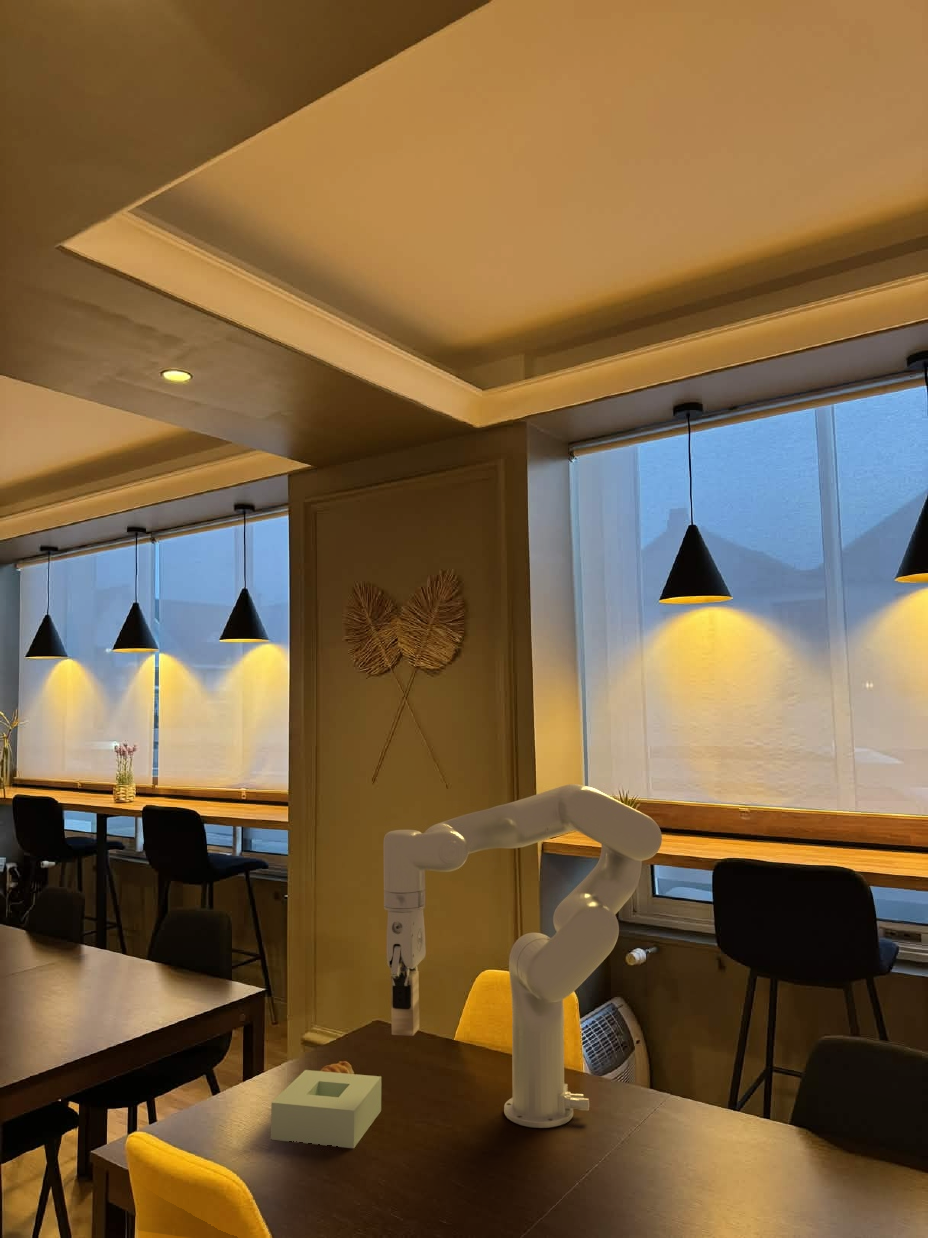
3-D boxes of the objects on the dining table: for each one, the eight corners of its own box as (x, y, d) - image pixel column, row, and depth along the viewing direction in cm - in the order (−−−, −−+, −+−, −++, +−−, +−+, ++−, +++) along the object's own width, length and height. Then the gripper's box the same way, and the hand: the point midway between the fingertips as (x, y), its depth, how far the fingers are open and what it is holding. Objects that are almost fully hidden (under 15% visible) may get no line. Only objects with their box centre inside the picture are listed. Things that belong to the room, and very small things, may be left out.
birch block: (419, 1028, 162) (418, 971, 163) (413, 1036, 158) (412, 977, 159) (398, 1027, 163) (397, 970, 164) (391, 1034, 159) (391, 976, 160)
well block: (381, 1111, 165) (381, 1076, 165) (353, 1148, 150) (354, 1110, 151) (304, 1103, 168) (305, 1070, 168) (270, 1139, 153) (271, 1102, 154)
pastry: (318, 1098, 171) (318, 1077, 171) (298, 1088, 176) (299, 1068, 176) (358, 1085, 177) (358, 1064, 178) (338, 1075, 182) (338, 1056, 182)
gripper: (411, 910, 154) (413, 1020, 152) (435, 891, 170) (437, 991, 168) (370, 908, 156) (371, 1018, 154) (397, 890, 172) (398, 989, 170)
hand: (405, 1003), depth 161 cm, fingers closed on birch block, 4 cm apart
